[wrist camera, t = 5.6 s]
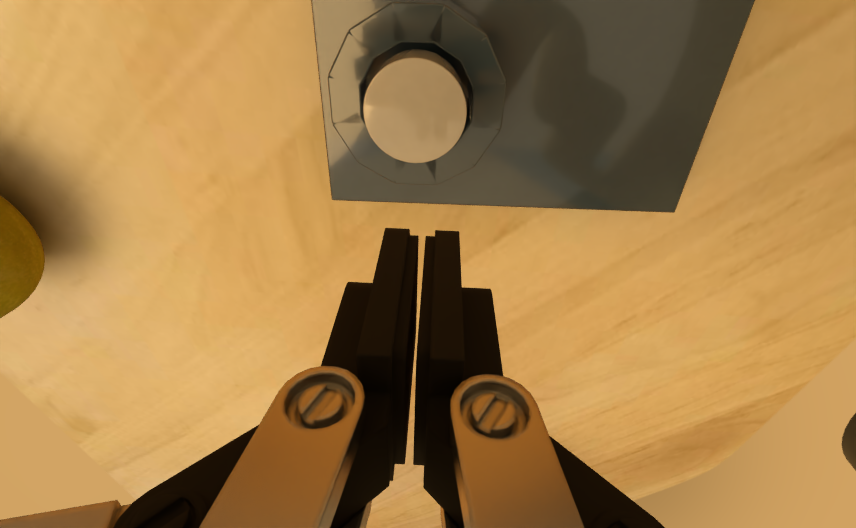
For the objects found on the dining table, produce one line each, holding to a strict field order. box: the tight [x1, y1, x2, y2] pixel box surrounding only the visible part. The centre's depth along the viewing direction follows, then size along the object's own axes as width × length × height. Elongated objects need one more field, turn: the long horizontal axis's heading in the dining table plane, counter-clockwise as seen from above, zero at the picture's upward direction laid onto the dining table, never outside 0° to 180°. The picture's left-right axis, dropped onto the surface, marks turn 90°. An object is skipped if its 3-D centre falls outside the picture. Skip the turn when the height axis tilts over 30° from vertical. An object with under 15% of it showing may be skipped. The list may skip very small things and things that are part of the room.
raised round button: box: [363, 49, 467, 163], centre depth 16 cm, size 4×4×2 cm
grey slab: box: [311, 0, 755, 212], centre depth 18 cm, size 16×10×4 cm, turn 88°
